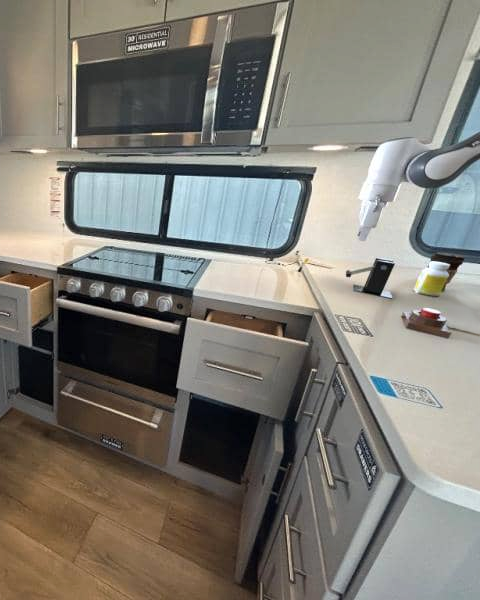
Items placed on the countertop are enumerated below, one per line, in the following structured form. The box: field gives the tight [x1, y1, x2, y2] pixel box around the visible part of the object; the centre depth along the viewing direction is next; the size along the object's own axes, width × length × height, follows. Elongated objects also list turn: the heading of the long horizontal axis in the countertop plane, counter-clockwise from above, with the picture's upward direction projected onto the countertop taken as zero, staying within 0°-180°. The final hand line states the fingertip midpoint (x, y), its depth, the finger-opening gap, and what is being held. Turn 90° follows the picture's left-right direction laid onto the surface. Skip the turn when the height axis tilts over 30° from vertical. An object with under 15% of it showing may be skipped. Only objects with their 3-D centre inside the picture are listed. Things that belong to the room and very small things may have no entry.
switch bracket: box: [352, 257, 396, 300], centre depth 109 cm, size 10×8×12 cm
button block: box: [400, 309, 452, 339], centre depth 88 cm, size 10×8×4 cm
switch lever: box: [345, 261, 388, 278], centre depth 110 cm, size 11×5×2 cm
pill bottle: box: [412, 261, 450, 298], centre depth 110 cm, size 6×6×12 cm
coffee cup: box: [427, 252, 465, 292], centre depth 118 cm, size 9×8×13 cm
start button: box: [420, 307, 442, 319], centre depth 87 cm, size 4×4×2 cm
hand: (360, 238), depth 109 cm, fingers open, 8 cm apart
